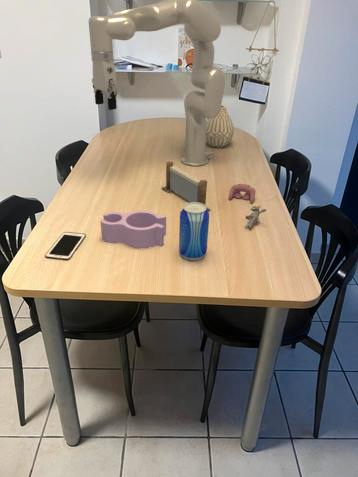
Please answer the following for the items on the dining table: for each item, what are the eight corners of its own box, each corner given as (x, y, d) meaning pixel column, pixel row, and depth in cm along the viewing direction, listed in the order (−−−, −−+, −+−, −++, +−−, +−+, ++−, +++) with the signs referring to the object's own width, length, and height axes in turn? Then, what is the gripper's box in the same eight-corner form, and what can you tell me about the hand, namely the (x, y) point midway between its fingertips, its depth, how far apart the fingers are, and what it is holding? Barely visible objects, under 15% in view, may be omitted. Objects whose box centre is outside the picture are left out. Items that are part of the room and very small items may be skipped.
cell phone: (86, 236, 128) (86, 233, 127) (69, 262, 115) (68, 259, 115) (64, 233, 128) (63, 231, 128) (44, 259, 116) (43, 256, 116)
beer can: (177, 246, 123) (178, 200, 114) (204, 246, 124) (207, 200, 115) (180, 262, 116) (181, 214, 107) (208, 261, 116) (212, 213, 108)
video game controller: (254, 204, 153) (257, 186, 152) (252, 203, 149) (256, 185, 148) (229, 200, 156) (232, 182, 155) (227, 199, 151) (230, 181, 150)
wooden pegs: (161, 189, 159) (161, 162, 153) (170, 186, 161) (171, 159, 155) (200, 214, 141) (202, 184, 135) (210, 211, 144) (212, 182, 138)
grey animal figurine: (232, 225, 136) (243, 207, 140) (243, 236, 138) (253, 218, 142) (252, 217, 128) (263, 198, 132) (264, 229, 129) (274, 211, 134)
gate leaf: (169, 189, 156) (169, 167, 151) (173, 188, 157) (174, 166, 152) (196, 206, 144) (197, 182, 139) (200, 204, 145) (201, 181, 140)
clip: (98, 246, 122) (96, 227, 119) (108, 226, 133) (106, 208, 129) (162, 250, 121) (162, 231, 117) (167, 230, 132) (167, 212, 128)
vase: (237, 144, 210) (241, 105, 199) (223, 152, 198) (227, 111, 188) (211, 138, 217) (213, 100, 207) (196, 146, 206) (198, 106, 195)
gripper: (124, 59, 134) (126, 110, 143) (100, 53, 146) (103, 100, 155) (104, 60, 130) (108, 113, 139) (81, 54, 142) (86, 103, 151)
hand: (105, 106), depth 147 cm, fingers open, 9 cm apart
